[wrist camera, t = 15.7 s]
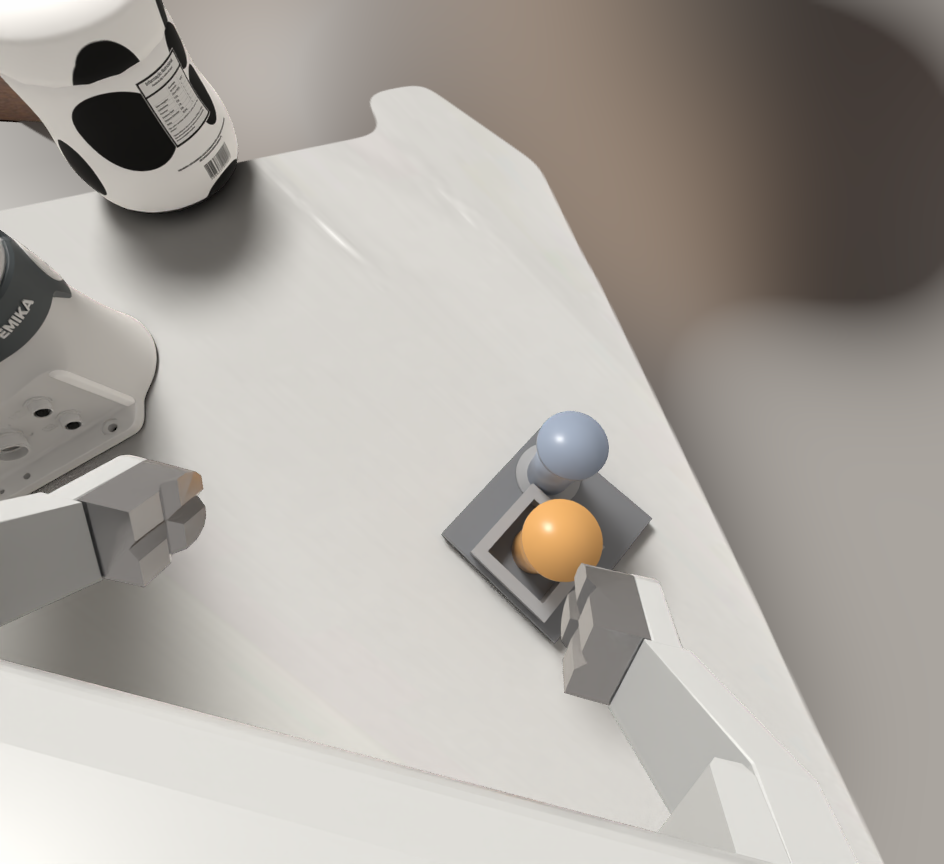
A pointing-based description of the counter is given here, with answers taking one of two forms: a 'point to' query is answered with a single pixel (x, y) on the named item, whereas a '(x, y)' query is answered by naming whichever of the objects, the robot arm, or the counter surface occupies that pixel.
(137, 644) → the counter surface
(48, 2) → the milk container
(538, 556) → the pin
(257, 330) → the counter surface
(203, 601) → the counter surface
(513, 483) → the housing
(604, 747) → the counter surface
